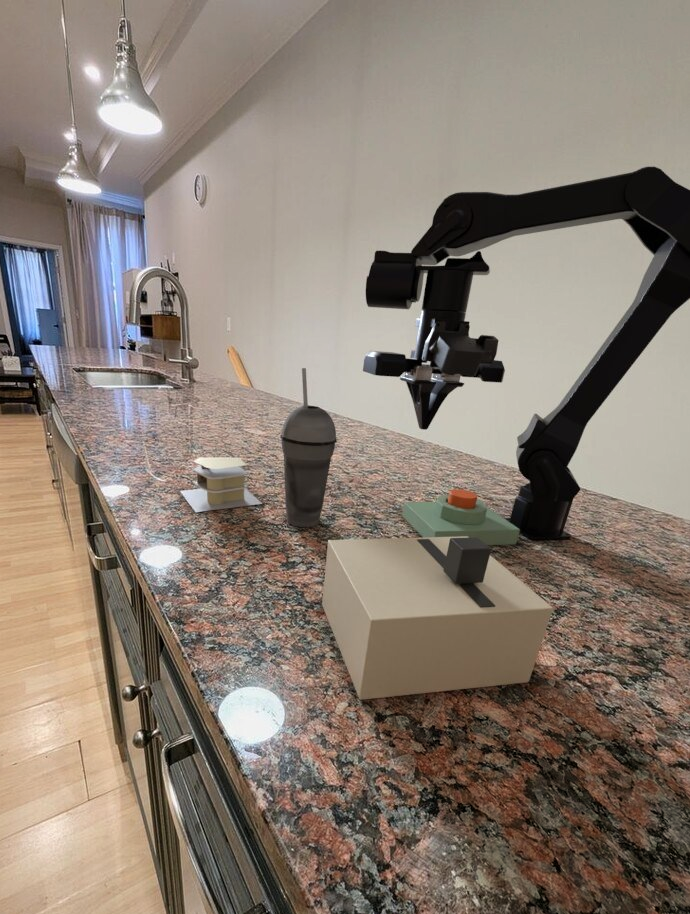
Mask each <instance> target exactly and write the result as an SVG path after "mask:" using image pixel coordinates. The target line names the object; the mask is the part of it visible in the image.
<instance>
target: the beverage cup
mask: <svg viewBox="0 0 690 914" xmlns="http://www.w3.org/2000/svg"><path fill="white" fill-rule="evenodd" d="M301 380H302V401H303V405H302V406H299V407H297V408H295V409H294V410H292V411H291V412H290V413H289V414H288V415H287V417H286V419H285V420H284V423H283V425H282V430H281V434H280V436H279V437H280V439H281V449H282V454H283V472H284V496H285V497H284V499H285V500H284V501H285V512H286V513H285V514H286V521H287V523H288V524H290V525H292V526H294V527H298V528H311V527H315V526H317V525H318V524H319V523H320V518H321V514H322V511H323V505H324V500H325V494H326V488H327V483H328V478H329V472H330V466H331V461H332V457H333V455H334V453H335V448H336V443H337V442H338V439H337V430H336V425H335V423H334V420H333V418H332V416H331V415H330V414H329V413H328V412H327V411H326V410H325V409H323V408H321V407H319V406H317V405H308V404H309V403H308V384H307V369H306V367H302V368H301Z"/></svg>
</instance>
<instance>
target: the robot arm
mask: <svg viewBox="0 0 690 914" xmlns="http://www.w3.org/2000/svg"><path fill="white" fill-rule="evenodd" d="M614 220H623V222H625V224H627V225H628V226H629V227H630V229H631V230H632V232H633V233H634V234H635V236H636V237H637V238H638V240H639V242H641V244H642V246H644V248H646V249H647V251H648V252H650V253H651V254H652V255H653V258H652V259H651V261H650V263H649V265H648V267H647V269H646V271H645V273H644V275H643V278H642V279H641V282H640V284H639V286H638V287H639V288H638V290H637V293H636V295H635V297H634V300H633V301H632V303H631V304H630V306H629V307H628V309H627V310H626V311H625V312H624V314H623V315H622V317H621V318H620V320H618V323H616V325H615V326H614V328H613V330H612V331H610V334H608V336H607V338H606V339H605V341H604V342H603V343H602V344H601V346H600V347H599V349H598V350H597V352H596V353H595V354H594V355H593V357H592V358H591V360H590V361H589V362H588V364H587V366H586V367H585V368H584V369H583V370H582V372H581V373H580V375H579V376H578V377H577V379H576V380H575V382H574V383H573V385H572V386H571V387H570V389H569V390H568V392H567V393H565V395H564V397H563V399H562V400H561V401H560V403H558V405H557V406H556V407H555V408H554V409H553V410H552V411H550V413H548V414H547V415H545V417H541V416H540V415H539V414H538V413H534V414H533V415H532V417H531V419H530V421H529V422H528V423H529V424H528V425H527V426H526V429H525V430H524V431H523V432H522V433H521V434H519V435H518V436H517V437H516V440H517V447H516V451H515V455H516V461H517V467H518V470H519V472H520V473H521V476H523V477H524V478H525V479H526V480H528V481H529V482H528V483H526V484H525V485H520V488H519V492H518V495H517V496H515V498H514V502H513V504H512V505H513V506H512V510H511V514H510V517H504V519H505V520H507V521H508V522H510V523H511V524H513V525H514V526H516V527H517V528H519V529H520V531H519V534H521V535H523V536H525V537H526V538H527V539H528V540H530V541H531V540H532V541H542V540H543V541H547V540H571V538H572V534H571V533H569V532H568V531H565V527H566V524H567V520H568V518H569V514H570V512H571V508H572V505H573V502H574V498H576V496H577V495H578V494H579V492H580V491H581V487H580V485H579V483H578V482H577V479H576V478H575V476H574V475H573V473H572V470H570V468H569V464H570V463H571V461H572V459H573V456H574V455H575V454H576V451H577V449H578V447H579V444H580V442H581V439H582V436H583V434H584V431H585V429H586V427H587V425H588V423H589V422H590V421H591V419H592V418H593V417H594V415H595V414H596V413H597V412H598V410H599V409H600V407H601V406H602V405H603V403H604V402H605V401H606V400H607V398H608V397H610V394H611V393H612V392H613V391H614V390H615V388H616V387H617V386H618V385H619V383H620V382H621V380H622V379H623V378H624V377H625V375H626V374H627V373H628V371H629V370H630V369H631V368H632V366H633V365H634V364H635V363H636V361H637V360H638V359H639V357H640V356H641V354H642V353H644V351H645V349H646V348H648V346H649V345H650V343H651V342H652V340H653V339H654V338H655V337H656V335H657V334H658V333H659V331H660V330H661V329H662V328H663V326H664V325H665V324H666V322H667V321H668V320H669V319H670V317H671V316H672V315H673V314H674V313H675V312H676V311H677V310H679V308H680V307H682V306H683V305H684V304H685V303H686V302H688V301H689V300H690V189H688V188H687V187H685V186H683V185H681V184H679V183H677V182H675V181H674V180H673V179H672V178H671V177H670V176H669V175H667V173H665V172H664V171H663V170H662V168H659V167H657V166H645V167H641V168H639V169H636V170H635V171H632V172H628V173H621V174H617V175H610V176H606V177H601V178H596V179H591V180H585V181H581V182H574V183H570V184H565V185H561V186H554V187H550V188H544V189H540V190H539V189H538V190H535V191H534V190H533V191H530V192H529V191H528V192H524V193H520V194H519V193H518V194H505V193H497V192H490V191H460V192H455V193H452V194H450V195H448V196H447V197H445V198H444V199H443V200H442V202H441V203H440V204H439V205H438V207H437V208H436V210H435V212H434V214H433V216H432V224H431V225H430V227H429V228H428V229H427V231H426V232H424V234H423V235H422V237H421V238H420V239H419V241H417V243H416V244H415V245H414V246H413V248H412V249H411V251H410V252H391V251H390V252H389V251H386V250H375V252H374V258H373V261H372V262H371V265H370V268H369V272H368V275H366V281H365V302H366V306H367V307H368V308H377V309H379V308H381V309H394V310H395V309H396V310H410V309H411V308H412V306H413V305H412V304H415V303H418V302H420V299H421V297H422V291H424V292H423V298H422V304H421V311H420V316H419V318H415V323H414V324H415V325H414V327H416V328H418V331H417V336H416V343H415V349H414V350H413V349H411V351H410V357H409V358H407V357H406V354H404V353H398V352H393V351H379V350H378V351H376V350H369V351H368V352H367V353H366V355H365V356H364V358H363V367H362V372H364V373H367V374H371V375H373V376H379V377H393V378H394V377H395V378H399V380H400V381H401V382H405V383H406V386H407V388H408V391H409V392H408V393H409V394H410V398H411V400H412V404H413V408H414V412H415V416H416V420H417V425H418V428H419V429H420V430H428V429H429V428H430V425H431V423H432V422H433V420H434V418H435V416H436V415H437V413H438V411H439V409H440V408H441V406H442V404H443V403H444V401H445V400H446V398H447V397H448V396H449V394H451V392H453V391H455V390H456V389H457V388H462V387H464V385H465V382H461V381H460V380H461V377H463V378H475V379H476V378H477V379H480V380H481V382H484V383H503V381H504V378H505V372H506V369H505V366H504V365H505V364H504V363H503V360H498V359H496V357H497V352H498V346H499V339H498V338H497V336H494V335H486V334H481V335H479V336H478V338H475V337H470V333H469V332H470V329H471V328H470V327H471V326H470V321H467V320H466V315H467V310H468V304H469V299H470V294H471V290H472V283H473V278H474V276H488V275H490V272H491V269H490V265H488V264H487V262H486V261H485V259H484V258H483V255H482V251H480V250H483V249H486V248H489V247H490V246H492V245H495V244H498V243H500V242H502V241H505V240H507V239H510V238H513V237H517V236H523V235H529V234H535V233H542V232H548V231H555V230H560V229H561V230H562V229H566V228H572V227H579V226H584V225H590V224H597V223H598V224H599V223H603V222H609V221H614ZM474 252H475V254H474V255H472V256H471V257H469V258H467V257H466V258H464V257H463V256H465V255H467V254H471V253H474ZM461 257H463V258H461ZM444 260H445V263H444V265H439V264H440V263H441V262H443V261H444ZM425 274H426V279H425V284H424V276H425ZM423 284H424V285H425V286H424V290H423ZM428 362H429V364H428ZM403 374H404V375H403Z"/></svg>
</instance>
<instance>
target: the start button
mask: <svg viewBox="0 0 690 914" xmlns="http://www.w3.org/2000/svg"><path fill="white" fill-rule="evenodd" d="M448 495H449V498H448V504H450V505H452V506H455V507H458V508H464V509H474V508H475V506H476V501H477V500H478V496H479V495H478V494H476V493H475V492H474V491H470V490H466V489H461V488H459V489H458V488H456V489H451V490H450V491H449V494H448Z"/></svg>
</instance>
